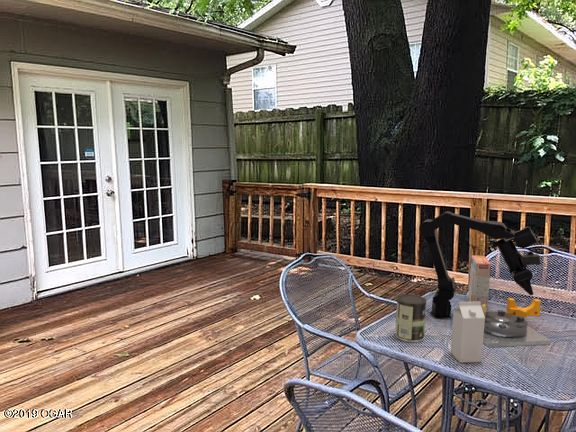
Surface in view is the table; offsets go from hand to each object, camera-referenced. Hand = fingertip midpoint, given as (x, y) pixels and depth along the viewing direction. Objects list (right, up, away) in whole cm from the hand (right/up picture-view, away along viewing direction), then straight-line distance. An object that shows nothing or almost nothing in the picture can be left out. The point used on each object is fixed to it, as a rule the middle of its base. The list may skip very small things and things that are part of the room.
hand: (530, 291), depth 175 cm
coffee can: (-46, -15, -5) cm, 48 cm away
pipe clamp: (+6, -13, +17) cm, 22 cm away
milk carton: (-31, -18, -21) cm, 42 cm away
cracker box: (-9, -11, +26) cm, 30 cm away
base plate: (-11, -15, 0) cm, 18 cm away
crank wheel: (-11, -13, -1) cm, 17 cm away
